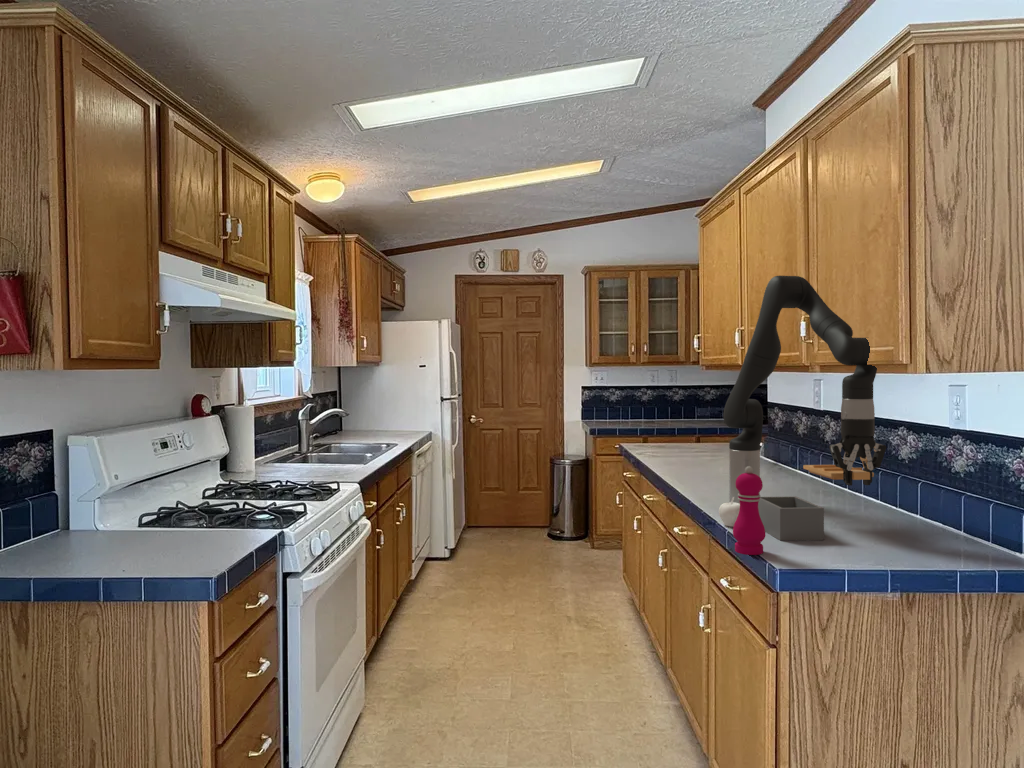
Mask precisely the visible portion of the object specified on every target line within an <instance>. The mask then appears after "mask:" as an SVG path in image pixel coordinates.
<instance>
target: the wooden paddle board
mask: <svg viewBox="0 0 1024 768" xmlns="http://www.w3.org/2000/svg"><path fill="white" fill-rule="evenodd" d="M802 468H803V470H807V471H808V472H809V473H811V474H814V475H817V476H820V477H823V478H827V479H831V480H836V481H837V480H838V481H839V480H840V481H841V480H842V481H843V469H842V468H839V467H836V466H835V464H803V467H802ZM863 470H864V469H863V467H853V466H852V469H851V471H852V481H861V480H862V481H863V480H870V472H866V471H863ZM874 475H875V473H874V472H873V471H872V478H874V477H875V476H874Z"/></svg>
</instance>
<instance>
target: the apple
mask: <svg viewBox="0 0 1024 768" xmlns="http://www.w3.org/2000/svg"><path fill="white" fill-rule="evenodd" d="M733 500H734V497H733V498H732V501H731V502H724V503H722V504H720V506H719V508H718V514H719V515H718V516H719V517H720V520H721V522H722V523H723V525H724V526H726V527H729V528H733V527H734V524H735V521H736V519H737V517H738V514H739V509H740V503H735V502H733Z"/></svg>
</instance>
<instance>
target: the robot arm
mask: <svg viewBox="0 0 1024 768" xmlns="http://www.w3.org/2000/svg"><path fill="white" fill-rule="evenodd" d="M783 309H798V310H801V311H802V312H804V313H805V314H807V315H808V317H809V324H810V325H809V326H810V328H811V329H812V331H813V332H814V333H815V334H816V335H817V336H818V337H819V338H820V339H821V340H822V341H823V342H824V343H826V345H827V346H828V349H829V350H830V352H831V353H832V356H833V357H834V359H835V360H836V361H837V362H838V363H840V364H842V365H844V366H855V370H854V372H853V373H852V374H850V375H847V376H845V377H843V379H842V382H841V384H842V385H841V407H840V414H841V415H840V434H841V439H840V441H839V442H838V443H836V444H829V446H828V448H829V452H830V453H831V457H832V460H833V463H834V465H835V466H836V467H839V468H842V469H843V480H842V481H843V483H844V484H845V485H846V486H853V479H852V471H851V469H852V467H853V465H854V462H855V461H856V458H860V461H861V462H862V466H863V467H862V468H863V469H862V470H863V471H866V472H870V480H862V484H863V485H864V486H871V484H872V482H873V477H872V472H873V470H875V469H877V468H878V469H879V468H881V465H882V462H883V459H884V456H885V453H886V450H887V445H885V444H881V443H877V442H876V440H875V438H874V437H875V416H876V415H875V403H874V382H875V379H876V376H877V371H878V369H877V368H876V367H875V366H872V365H867V361H868V358H869V353H870V346H869V342H868V340H867V339H866V338H867V337H853V335H854V332H853V331H854V330H853V328H852V326H850V324H848V323H847V322H846V321H845V320H844V319H843V318H841V317H840V316H839V315H838V314H836V313H835V312H834V311H833V310H832V309H831V308H830V307H829V306H828V305H827V303H826V302H825V301H824V300H823V298H822V297H821V295H819V294H818V292H817V291H816V290H815V288H814V287H813V286H812V284H811V283H810V282H809V281H808V280H806V278H805V277H802V276H799V275H775V276H773V277H771V278H770V279H769V281H768V282H767V285H766V287H765V290H764V292H763V297H762V302H761V307H760V310H759V315H758V317H757V318H758V319H757V322H756V325H755V328H754V331H753V334H752V338H751V341H750V342H749V345H748V347H747V350H746V354H745V357H744V360H743V362H742V365H741V368H740V371H739V374H738V377H737V379H736V381H735V383H734V386H733V387H732V390H731V392H730V393H729V396H728V398H727V400H726V402H725V405H724V407H723V422H724V424H725V425H726V427H728V428H732V429H742V431H741V433H740V434H738V436H735V437H734V438H732V439H730V441H729V445H728V447H729V451H728V452H729V455H728V457H729V459H728V460H729V464H728V465H729V476H728V477H729V480H728V481H729V493H728V495H729V497H728V499H729V502H731V501H732V498H733V497H734V500H733V502H735V503H740V500H738V493H739V491H738V490H737V488H736V484H735V483H736V479H737V477H738V476H739V475H741V474H743V473H746V472H745V468H746V467H748V466H750V467H752V469H753V472H752V473H753V474H756V475H758V476H759V477H760V478H761V460H760V459H761V457H760V456H761V453H760V452H761V444H762V439H763V426H764V425H763V422H764V411H763V406H762V404H761V403H760V401H759V400H758V399H755V398H750V397H751V395H752V393H754V391H755V390H756V389H758V387H760V386H761V384H762V383H763V382H765V381H766V380H767V378H769V377H770V376H771V374H772V373H773V372H774V370H775V368H776V367H777V363H778V361H779V359H780V356H781V353H782V346H781V340H780V336H779V332H778V328H777V324H778V320H779V316H780V313H781V312H782V310H783ZM842 450H843V452H844V455H843V457H842V454H841V452H842ZM872 451H874V452H873V455H872V454H871V452H872ZM759 494H760V495H761V491H760V492H759Z"/></svg>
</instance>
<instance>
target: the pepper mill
mask: <svg viewBox="0 0 1024 768" xmlns="http://www.w3.org/2000/svg"><path fill="white" fill-rule="evenodd" d="M745 472H746V473H743V474H741V475H739V476H738V477H737V479H736V483H735V484H736V488H737V490H738V491H739V493H738V500H740V509H739V514H738V517H737V519H736V521H735V524H734V527H732V536H733V537H734V539H735V540H736V542H735V543H734V551H735V552H736V553H738V554H740V555H746V556H759V555H762V554H764V545H763V544H762V542H763V541H764V540H765V538H766V532H765V528H764V525H763V523H762V520H761V518H760V515H759V510H758V502H759V501H760V497H761V491H762V490H763V486H764V485H763V480H762V477H761V476H760V477H759V476H758V475H756V474H753V473H752V472H753V469H752V467H750V466H748V467H746V468H745ZM759 492H760V494H759Z"/></svg>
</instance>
